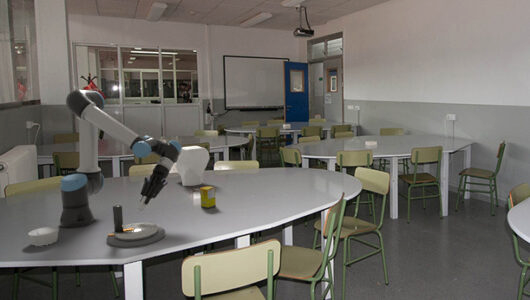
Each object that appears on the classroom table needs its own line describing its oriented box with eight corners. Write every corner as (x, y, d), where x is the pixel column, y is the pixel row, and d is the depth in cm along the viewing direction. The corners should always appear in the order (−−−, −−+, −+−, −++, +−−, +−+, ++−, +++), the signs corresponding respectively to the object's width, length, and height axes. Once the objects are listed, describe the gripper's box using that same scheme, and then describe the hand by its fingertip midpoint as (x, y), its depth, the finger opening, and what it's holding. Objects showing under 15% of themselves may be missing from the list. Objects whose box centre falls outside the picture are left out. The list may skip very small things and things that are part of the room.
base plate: (96, 247, 158) (95, 242, 158) (122, 227, 182) (122, 223, 182) (153, 247, 156) (152, 243, 156) (172, 228, 180) (172, 224, 180)
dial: (156, 225, 180) (155, 197, 179) (159, 237, 163) (157, 207, 162) (115, 229, 175) (113, 201, 173) (113, 243, 158) (111, 212, 156)
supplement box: (208, 204, 219) (207, 185, 217) (216, 206, 215) (215, 187, 214) (200, 207, 214) (199, 187, 213) (207, 209, 210) (207, 189, 209)
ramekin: (23, 246, 162) (21, 233, 161) (46, 237, 172) (45, 225, 171) (42, 249, 158) (41, 236, 157) (65, 239, 168) (64, 227, 167)
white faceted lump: (183, 187, 263) (181, 150, 259) (175, 180, 287) (173, 146, 284) (213, 184, 271) (211, 147, 268) (203, 177, 296) (201, 144, 292)
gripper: (148, 162, 192) (124, 203, 179) (169, 164, 186) (146, 207, 174) (156, 171, 198) (133, 212, 185) (177, 173, 192) (155, 215, 179)
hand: (140, 209), depth 179 cm, fingers closed
